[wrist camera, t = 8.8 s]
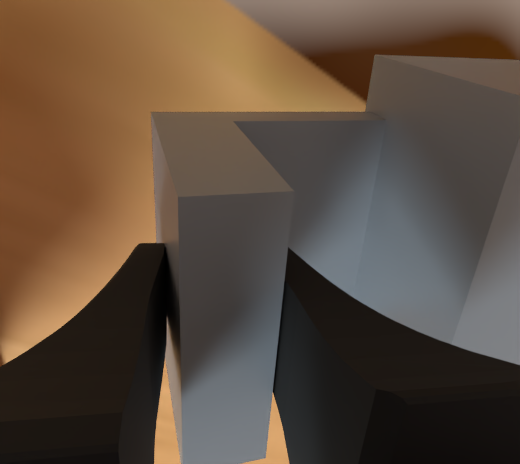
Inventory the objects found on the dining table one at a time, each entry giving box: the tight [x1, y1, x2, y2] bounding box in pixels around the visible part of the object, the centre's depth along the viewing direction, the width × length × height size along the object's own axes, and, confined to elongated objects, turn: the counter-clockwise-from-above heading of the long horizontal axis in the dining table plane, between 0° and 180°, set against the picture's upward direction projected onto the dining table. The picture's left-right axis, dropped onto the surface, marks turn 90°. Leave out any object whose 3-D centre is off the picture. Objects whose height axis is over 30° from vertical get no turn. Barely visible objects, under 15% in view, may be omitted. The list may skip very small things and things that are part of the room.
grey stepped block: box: [151, 55, 520, 464], centre depth 14 cm, size 17×10×6 cm, turn 86°
